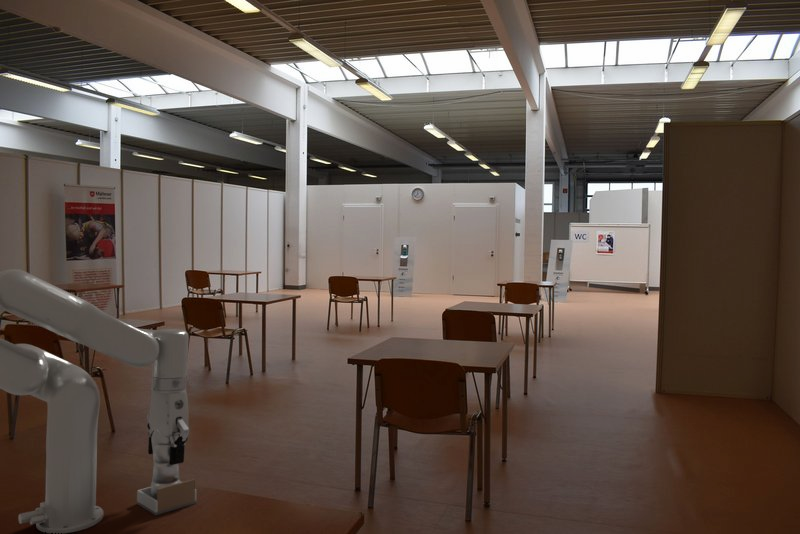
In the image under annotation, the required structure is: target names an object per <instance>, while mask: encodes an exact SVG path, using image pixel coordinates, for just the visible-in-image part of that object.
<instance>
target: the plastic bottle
mask: <svg viewBox="0 0 800 534" xmlns="http://www.w3.org/2000/svg"><path fill="white" fill-rule="evenodd" d="M176 432H178V431H176ZM173 433H175V432H173ZM150 437H151V436H150ZM178 437H179V436H177V437H175V440H177V438H178ZM151 441H152V449H153V454H152V455H153V457H152V459H153V469H152V480H151V484H150V487H151V488H150V493H151V497H152V498H154V499H155V500H157V489H159V488H163V487H167V486H170V485H174V484H178V483H180V481H181V480H180V471H179V467H180V466H179V464H174V465H170V464H169V461H170V447H172V444H171V441H170V437H167V436H165V435H163V434H161V433H160V432H159V431H158V430H155V431H154V432H153V434H152V437H151Z"/></svg>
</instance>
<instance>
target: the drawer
mask: <svg viewBox="0 0 800 534" xmlns="http://www.w3.org/2000/svg"><path fill="white" fill-rule="evenodd" d="M150 488H151V486H148V487H145V488H141V489H137V491H136V505H137V506H140V507H141V508H143V509H144V510H146V511H148V512H149V513H151V514H153V515H155V516H158V515H161V514H165V513H168V512H171V511H175V510H179V509H181V508H185V507H188V506H191V505H194V504H197V496H198V495H197V492H198V491H197V490H198V489H197V488H196V479H195V478H193V479H188V480H185V481H181V480H180V483H178V484H174V485H170V486H167V487H163V488H159V489H157V500H155V499H154V498H152V497H151V493H150Z"/></svg>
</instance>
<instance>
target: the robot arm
mask: <svg viewBox="0 0 800 534" xmlns="http://www.w3.org/2000/svg"><path fill="white" fill-rule="evenodd" d="M4 312H7V313H9V314H11V315H14V316H16V317H18V318H21V319H23V320H25V321H28V322H30V323H33V324H35V325H37V326H38V327H41V328H43V329H46V330H48V331H50V332H53V333H55V334H56V335H59V336H61V337H63V338H66V339H68V340H70V341H72V342H74V343H77V344H81V345H83V346H85V347H87V348H90V349H92V350H94V351H96V352H99V353H101V354H102V355H105V356H107V357H110V358H112V359H114V360H117V361H118V362H121V363H123V364H125V365H127V366H130V367H133V368H145V367H148V366H150V365H151V369H152V371H151V388H150V390H151V396H150V397H151V398H150V405H149V413H147V414H146V420H147V430H148V432H147V434H148V435H147V436H148V448H147V449H148V450H147V453H148V454H149V455H153V449H152V441H151V437H152V434H153V432H154V431H155V430H158V431H159V432H160V433H161V434H163V435H165V436H167V437H170V441H171V444H172V447H170V461H169V464H170V465H174V464H178V465H180V464H183V463H184V461H185V447H186V445H187V441H188V438H189V434H190V428H189V400H188V393H187V385H188V384H187V381H188V379H187V378H188V361H189V360H188V358H189V357H188V356H189V338H190V337H189V333H188V332H187V331H186V330H185V329H181V328H180V329H179V328H162V329H146V328H137V327H134V326H133V325H131V324H129V323H126V322H124V321H122V320H120V319H119V318H116V317H114V316H113V315H111V314H108V313H106V312H104V311H103V310H102V309H100V308H99V307H97V306H95V305H94V304H92V303H91V302H89V301H87V300H85V299H84V298H81V297H79V296H78V295H74V294H73V293H71V292H68V291H67V290H64V289H62V288H60V287H58V286H56V285H54V284H51V283H50V282H48V281H45V280H44V279H41V278H39V277H37V276H35V275H33V274H31V273H29V272H28V271H25V270H23V269H18V268H11V269H5V270H0V313H4ZM0 389H1V390H2V391H5V392H6V393H8V394H12V395H15V396H27V395H28V396H29V395H30V396H32V397H34V398H37V399H39V400H41V401H43V402H46V403H47V417H46V418H47V420H46V437H45V438H46V440H45V453H46V459H45V460H46V461H45V498H44V499H45V501H41V502H40V503H39V507H37V508H35V510H32V511H26V512H22V513H19V514H18V516H17V517H18V518H17V519H18V523H19V524H21V525H22V524H25V523H29V524H30V525H34V524H35V528H36V529H37V530H38V531H40V532H42V533H45V532H46V533H45V534H51V533H53V534H55V533H56V534H58V533H59V534H61V533H62V534H70V533H74V532H80V531H83V530H86V529H89V528H92V527H93V526H96V525H97V524H98V523H100V522H101V521H102V520H103V518H104V509H102V507H100V506H99V505H96V503H97V465H98V463H97V461H98V460H97V458H98V453H97V452H98V426H99V423H98V422H99V414H100V407H101V395H100V389H99V387H98V384H97V383H96V381H95V380H94V379H93V377H92V376H91V375H90V374H89V372H87V371H86V369H85V370H84V369H83V368H82V367H80V366H78V365H76V364H73V363H71V362H70V361H67V360H65V359H63V358H61V357H59V356H57V355H55V354H53V353H50V352H49V351H46V350H45V349H42V348H40V347H38V346H34V345H32V344H28V343H15V344H14V343H12V342H10V341H9V340H5V339H4V338H1V337H0ZM176 431H178V432H176ZM173 432H175V433H173ZM177 436H179V437H178V438H177V440H175V437H177Z"/></svg>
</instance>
